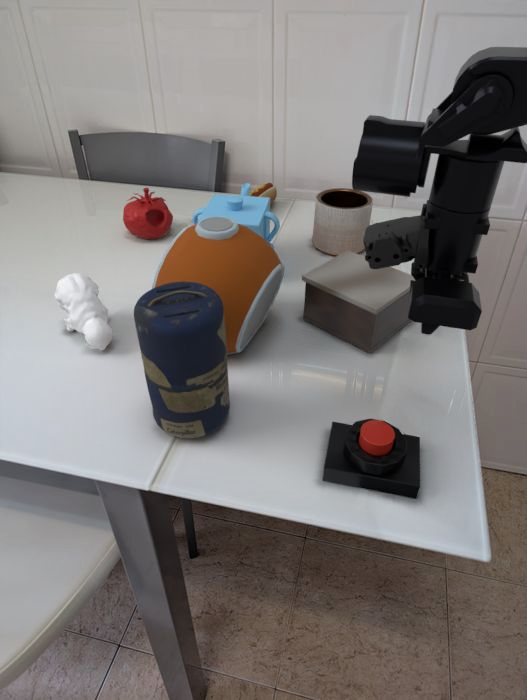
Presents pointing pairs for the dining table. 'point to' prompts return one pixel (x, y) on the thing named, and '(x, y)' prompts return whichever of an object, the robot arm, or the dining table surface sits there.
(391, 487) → the switch block
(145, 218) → the red tomato
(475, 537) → the dining table surface
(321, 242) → the planter
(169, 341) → the canister
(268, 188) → the food
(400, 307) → the wooden box
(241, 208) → the teapot
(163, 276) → the alarm clock
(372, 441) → the button
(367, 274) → the grey square plate
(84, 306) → the white animal figurine
